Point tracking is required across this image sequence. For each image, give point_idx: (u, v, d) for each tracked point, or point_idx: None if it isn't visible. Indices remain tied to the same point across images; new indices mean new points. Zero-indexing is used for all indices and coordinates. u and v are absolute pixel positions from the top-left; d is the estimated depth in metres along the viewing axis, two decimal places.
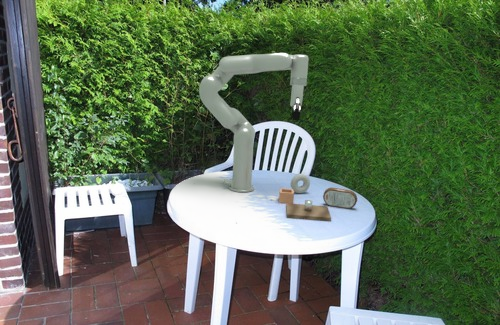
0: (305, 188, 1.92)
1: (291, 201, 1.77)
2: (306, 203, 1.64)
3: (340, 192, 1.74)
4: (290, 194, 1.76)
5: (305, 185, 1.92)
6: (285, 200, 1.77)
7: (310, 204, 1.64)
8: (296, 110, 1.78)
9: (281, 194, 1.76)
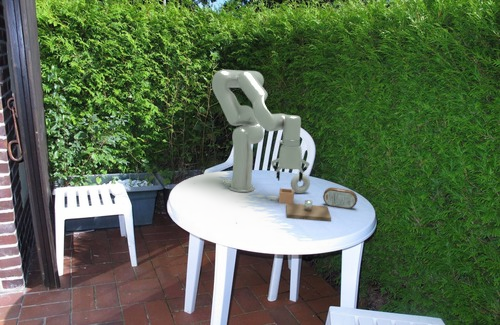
0: (305, 188, 1.92)
1: (291, 201, 1.77)
2: (306, 203, 1.64)
3: (340, 192, 1.74)
4: (290, 194, 1.76)
5: (305, 185, 1.92)
6: (285, 200, 1.77)
7: (310, 204, 1.64)
8: None
9: (281, 194, 1.76)
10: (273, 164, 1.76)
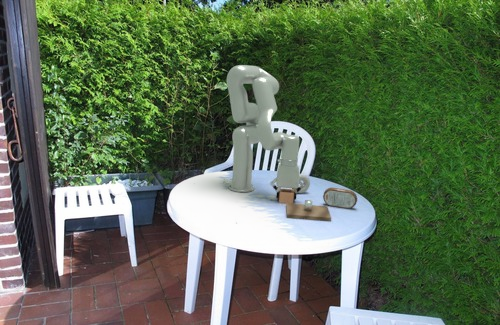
0: (305, 188, 1.92)
1: (291, 201, 1.77)
2: (306, 203, 1.64)
3: (340, 192, 1.74)
4: (290, 194, 1.76)
5: (305, 185, 1.92)
6: (285, 200, 1.77)
7: (310, 204, 1.64)
8: None
9: (281, 194, 1.76)
10: (273, 184, 1.78)
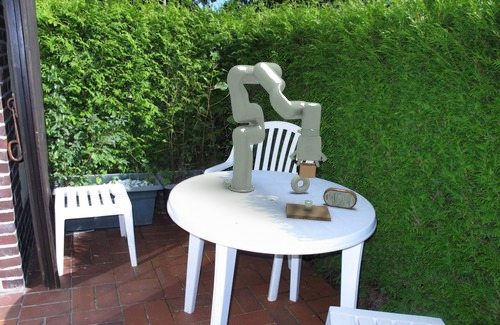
0: (305, 188, 1.92)
1: (313, 175, 1.62)
2: (306, 203, 1.64)
3: (340, 192, 1.74)
4: (312, 167, 1.61)
5: (305, 185, 1.92)
6: (306, 174, 1.62)
7: (310, 204, 1.64)
8: None
9: (302, 167, 1.61)
10: (292, 158, 1.63)
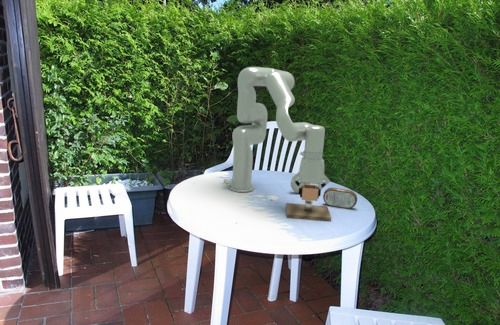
0: None
1: (315, 198, 1.61)
2: (306, 203, 1.64)
3: (340, 192, 1.74)
4: (314, 190, 1.60)
5: None
6: (309, 197, 1.61)
7: (310, 204, 1.64)
8: None
9: (304, 190, 1.61)
10: (295, 180, 1.63)
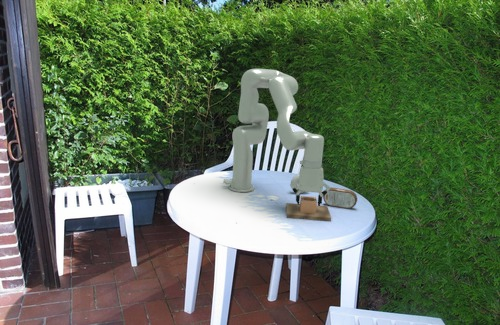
0: None
1: (314, 210, 1.62)
2: None
3: (340, 192, 1.74)
4: (313, 203, 1.62)
5: None
6: (307, 209, 1.62)
7: None
8: None
9: (303, 203, 1.62)
10: (293, 187, 1.63)
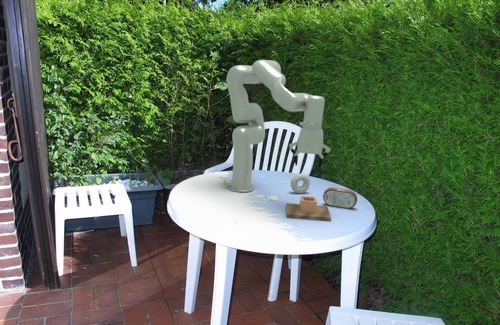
0: (305, 188, 1.92)
1: (314, 210, 1.62)
2: None
3: (340, 192, 1.74)
4: (313, 203, 1.62)
5: (305, 185, 1.92)
6: (307, 209, 1.62)
7: None
8: None
9: (303, 203, 1.62)
10: (291, 147, 1.63)
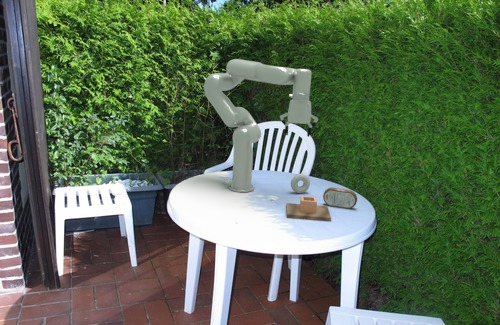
0: (305, 188, 1.92)
1: (314, 210, 1.62)
2: None
3: (340, 192, 1.74)
4: (313, 203, 1.62)
5: (305, 185, 1.92)
6: (307, 209, 1.62)
7: None
8: (312, 126, 1.75)
9: (303, 203, 1.62)
10: (282, 118, 1.75)
